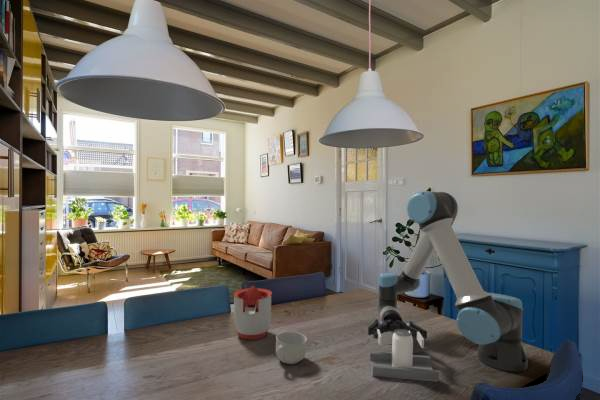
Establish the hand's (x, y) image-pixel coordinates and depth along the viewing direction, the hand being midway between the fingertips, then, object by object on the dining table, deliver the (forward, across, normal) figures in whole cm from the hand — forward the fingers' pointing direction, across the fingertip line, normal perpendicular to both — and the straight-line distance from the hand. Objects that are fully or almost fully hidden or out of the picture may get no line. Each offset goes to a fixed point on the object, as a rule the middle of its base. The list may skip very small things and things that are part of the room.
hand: (401, 342), depth 108 cm
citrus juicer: (-19, +56, -9) cm, 59 cm away
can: (0, 0, -9) cm, 9 cm away
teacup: (0, +38, -9) cm, 39 cm away
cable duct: (0, 0, -9) cm, 9 cm away
